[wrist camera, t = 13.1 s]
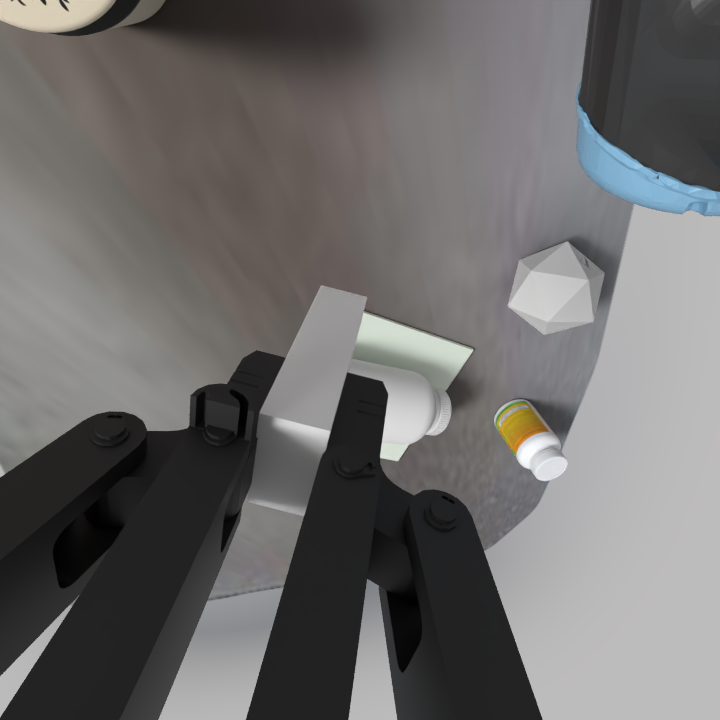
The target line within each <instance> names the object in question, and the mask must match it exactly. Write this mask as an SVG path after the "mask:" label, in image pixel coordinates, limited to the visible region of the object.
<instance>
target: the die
mask: <svg viewBox="0 0 720 720" xmlns="http://www.w3.org/2000/svg"><path fill="white" fill-rule="evenodd" d="M604 275H605V273H604V272H603V271H602V270H601V269H600V268H598V267H597V266H596V265H595V264H594V263H592V262H591V261H590V260H589V259H588V258H587V257H585V256H584V255H583V254H582V253H581V252H579V251H578V250H577V249H576V248H575V247H574V246H572V245H571V244H570V243H569V242H568V241H567V242H564V243H561V244H559V245H556V246H554V247H551V248H548V249H546V250H543V251H541V252H538V253H536V254H533V255H530V256H528V257H525V258H523V259H520V260H519V263H518V267H517V271H516V275H515V279H514V283H513V287H512V291H511V295H510V299H509V303H508V307H509V308H511V309H512V310H513V311H515V312H516V313H517V314H518V315H520V316H521V317H522V318H523V319H525V320H526V321H527V322H528V323H530V324H531V325H532V326H534V327H535V328H536V329H537V330H539V331H540V332H541V333H542V334H544V335H546V334H550V333H554V332H558V331H561V330H565V329H569V328H573V327H577V326H581V325H584V324H588V323H592V322H594V319H595V315H596V310H597V306H598V301H599V297H600V293H601V288H602V284H603V279H604Z"/></svg>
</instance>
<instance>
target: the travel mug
mask: <svg viewBox="0 0 720 720" xmlns="http://www.w3.org/2000/svg"><path fill="white" fill-rule="evenodd" d="M165 1H166V0H0V20H2V21H4V22H6V23H8V24H11V25H14V26H17V27H20V28H23V29H27V30H31V31H37V32H46V33H52V34H57V35H65V36H81V35H88V34H93V33H97V32H101V31H105V30H109V29H114V28H118V27H122V26H126V25H131V24H135V23H139V22H141V21H144V20H146V19H148V18H149V17H151V16H152V15H154V14H155V13H156V12H157V11H158V10H159V9H160V8H161V6H162V5H163V4H164V2H165Z"/></svg>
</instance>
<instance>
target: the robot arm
mask: <svg viewBox="0 0 720 720" xmlns="http://www.w3.org/2000/svg"><path fill="white" fill-rule="evenodd" d="M576 103H577V108H576V109H577V112H578V116H579V117H578V131H577V146H576V148H577V154H578V159H579V162H580V164H581V167H582V169H583V170H584V172H585V173H586V174H587V175H588V177H589V178H590V179H591V180H592V181H593V182H594V183H596V184H597V185H598V186H599V187H601V188H602V189H604V190H605V191H607V192H609V193H611V194H612V195H615V196H617V197H619V198H621V199H623V200H626V201H628V202H631V203H634V204H637V205H640V206H643V207H647V208H651V209H655V210H659V211H664V212H670V213H676V214H683V213H684V212H686V211H688V210H693V211H696V212H699V213H700V214H702V215H704V216H720V0H591V4H590V13H589V21H588V30H587V39H586V47H585V56H584V64H583V73H582V82H581V83H580V85H579V88H578V90H577V96H576ZM366 301H367V297H365V296H361V295H357V294H353V293H349V292H345V291H341V290H338V289H334V288H330V287H326V286H322V285H321V287H320V289H319V291H318V293H317V295H316V297H315V299H314V301H313V303H312V305H311V307H310V309H309V311H308V313H307V316H306V318H305V320H304V322H303V324H302V326H301V328H300V330H299V332H298V334H297V336H296V338H295V340H294V342H293V344H292V346H291V349H290V351H289V353H288V355H287V357H286V358H284V357H280V356H276V355H273V354H269V353H265V352H261V351H257V350H256V351H255V352H253V353H251V354H250V355H248V356H246V357H244V358H243V359H242V361H241V362H240V364H239V365H238V367H237V369H236V371H235V372H234V373H233V375H232V377H231V378H230V381H228V383H227V384H212V385H207V386H204V387H202V388H199V389H197V390H196V391H195V392H194V393H193V394H192V395H191V399H190V425H189V427H188V428H187V429H183V430H179V431H147V429H146V427H145V424H144V422H143V421H142V420H141V419H139V418H138V417H136V416H135V415H132V414H129V413H125V412H105V413H101V414H96V415H94V416H92V417H90V418H88V419H86V420H84V421H82V422H81V423H79V424H78V425H76V426H75V427H74V428H72V429H71V430H69V431H68V432H66V433H65V434H63V435H62V436H60V437H59V438H57V439H56V440H55V441H53V442H52V443H50V444H49V445H47V446H46V447H44V448H43V449H41V450H40V451H38V452H37V453H35V454H34V455H33V456H31V457H30V458H28V459H27V460H25V461H24V462H22V463H21V464H19V465H18V466H16V467H15V468H14V469H12V470H11V471H9V472H8V473H6V474H5V475H3V476H2V477H0V675H2V674H3V672H5V671H6V670H7V668H9V667H10V666H11V664H12V663H13V662H14V661H15V660H16V659H17V658H18V657H19V656H20V655H21V654H22V653H23V652H24V651H25V650H26V649H27V648H28V647H29V646H30V645H31V644H32V643H33V642H34V641H35V640H36V638H38V637H39V636H40V635H41V634H42V633H43V632H44V630H45V629H46V628H47V627H48V626H49V625H50V624H51V623H52V622H53V621H54V620H55V619H56V618H57V617H58V616H59V615H60V614H61V613H62V612H63V611H64V610H65V609H66V608H67V607H68V606H69V605H70V604H71V603H72V602H73V601H74V600H75V599H76V598H77V597H78V596H79V597H78V599H77V600H76V602H75V603H74V605H73V606H72V608H71V610H70V611H69V612H68V614H67V616H66V617H65V619H64V620H63V622H62V623H61V625H60V626H59V628H58V629H57V631H56V633H55V634H54V636H53V637H52V639H51V640H50V642H49V643H48V645H47V646H46V648H45V649H44V651H43V653H42V654H41V656H40V657H39V659H38V660H37V662H36V663H35V665H34V666H33V668H32V669H31V671H30V673H29V674H28V676H27V677H26V679H25V680H24V682H23V683H22V685H21V686H20V688H19V689H18V691H17V693H16V694H15V696H14V697H13V699H12V700H11V702H10V703H9V705H8V707H7V708H6V710H5V711H4V713H3V714H2V716H1V717H0V720H158V719H159V716H160V714H161V712H162V709H163V707H164V704H165V702H166V700H167V697H168V695H169V692H170V689H171V687H172V685H173V682H174V680H175V678H176V675H177V673H178V670H179V668H180V665H181V663H182V660H183V658H184V656H185V653H186V651H187V648H188V646H189V643H190V641H191V638H192V636H193V634H194V631H195V629H196V627H197V624H198V622H199V619H200V617H201V614H202V612H203V610H204V607H205V605H206V602H207V600H208V597H209V595H210V593H211V590H212V588H213V585H214V583H215V580H216V578H217V576H218V573H219V571H220V568H221V566H222V563H223V561H224V559H225V556H226V554H227V551H228V549H229V546H230V544H231V541H232V539H233V537H234V534H235V532H236V529H237V527H238V524H239V522H240V517H241V510H242V505H243V502H244V500H245V498H246V495H247V493H248V498H247V502H250V503H254V504H257V505H261V506H265V507H269V508H273V509H277V510H281V511H285V512H289V513H293V514H297V515H301V516H304V518H303V522H302V525H301V529H300V532H299V536H298V539H297V543H296V546H295V550H294V553H293V557H292V560H291V564H290V567H289V571H288V574H287V578H286V581H285V585H284V588H283V592H282V596H281V599H280V602H279V606H278V609H277V613H276V617H275V620H274V624H273V627H272V630H271V634H270V638H269V641H268V644H267V648H266V651H265V655H264V658H263V662H262V665H261V669H260V672H259V676H258V680H257V683H256V687H255V690H254V693H253V697H252V701H251V704H250V707H249V711H248V714H247V718H246V720H348V718H349V710H350V703H351V695H352V688H353V680H354V673H355V665H356V657H357V650H358V643H359V635H360V628H361V620H362V613H363V605H364V598H365V589H366V582H367V579H369V580H371V581H372V582H374V583H375V584H377V585H379V594H380V601H381V608H382V615H383V622H384V629H385V636H386V643H387V650H388V657H389V664H390V670H391V678H392V685H393V692H394V699H395V706H396V713H397V720H542V717H541V714H540V711H539V708H538V706H537V702H536V699H535V697H534V694H533V691H532V688H531V685H530V682H529V680H528V677H527V674H526V671H525V668H524V665H523V662H522V659H521V656H520V654H519V651H518V648H517V645H516V642H515V639H514V636H513V633H512V631H511V628H510V625H509V622H508V619H507V616H506V613H505V610H504V608H503V605H502V602H501V599H500V596H499V594H498V591H497V587H496V585H495V582H494V579H493V576H492V573H491V570H490V567H489V564H488V562H487V559H486V556H485V553H484V550H483V547H482V544H481V541H480V539H479V536H478V533H477V530H476V527H475V524H474V521H473V519H472V516H471V514H470V513H469V511H468V509H467V507H466V506H465V505H464V504H463V503H462V502H461V501H460V500H458V499H457V498H456V497H454V496H452V495H450V494H448V493H446V492H443V491H439V490H424V491H421V492H420V493H418V494H416V495H415V496H414V495H412V494H410V493H408V492H406V491H404V490H403V489H401V488H399V487H398V486H396V485H395V484H393V483H392V482H391V481H390V480H389V479H388V478H387V476H386V475H385V473H384V472H383V470H382V467H381V465H380V453H381V445H382V438H383V431H384V424H385V416H386V408H387V402H388V392H387V390H386V388H385V385H384V383H383V381H380V380H376V379H372V378H368V377H364V376H360V375H356V374H352V373H348V372H349V369H350V365H351V361H352V357H353V353H354V349H355V345H356V341H357V337H358V333H359V329H360V325H361V321H362V317H363V313H364V309H365V305H366ZM80 593H81V594H80Z"/></svg>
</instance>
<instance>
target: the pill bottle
mask: <svg viewBox="0 0 720 720" xmlns="http://www.w3.org/2000/svg"><path fill="white" fill-rule="evenodd" d="M348 373H352V374H356V375H360V376H364V377H368V378H372V379H376V380H380V381H383V383H384V385H385V388H386V390H387V392H388V402H387V408H386V416H385V424H384V431H383V438H382V442H384V443H392V444H400V445H407V444H411V443H414V442H416V441H418V440H419V439H421V438H422V437H423V436H424V435H438V434H440V433H441V432H443V431H444V430H445V428H446V427H447V425H448V423H449V421H450V417H451V401H450V398H449V396H448V394H447V393H446V392H445V391H444V390H443V389H441V388H437V387H431V386H430V384H429V382H428V381H427V380H426V379H425V378H424V377H423V376H422V375H420V374H419V373H417V372H413V371H409V370H404V369H399V368H395V367H390V366H385V365H380V364H375V363H371V362H366V361H361V360H356V359H352V361H351V365H350V369H349V372H348Z"/></svg>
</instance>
